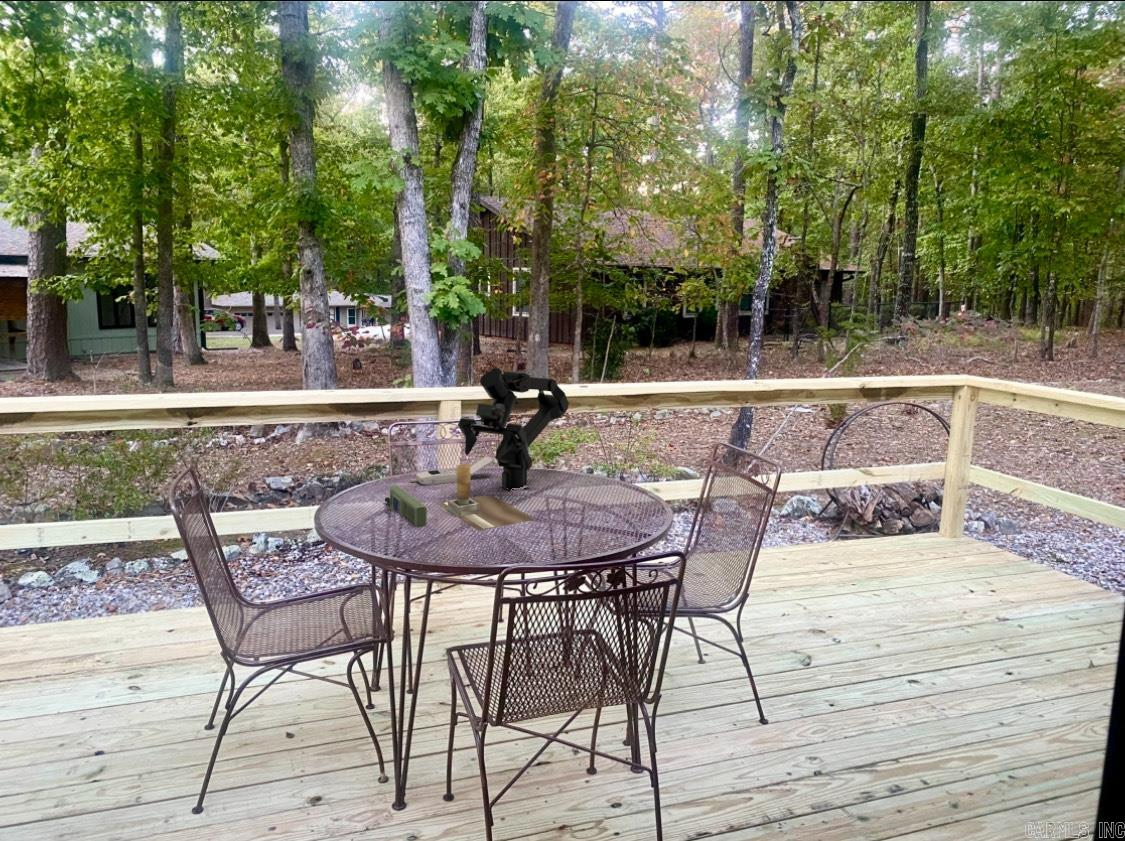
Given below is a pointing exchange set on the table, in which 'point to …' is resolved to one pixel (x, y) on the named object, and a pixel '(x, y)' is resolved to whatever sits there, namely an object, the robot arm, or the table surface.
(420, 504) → the handheld radio
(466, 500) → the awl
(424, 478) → the mobile phone
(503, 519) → the board
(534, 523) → the table surface
